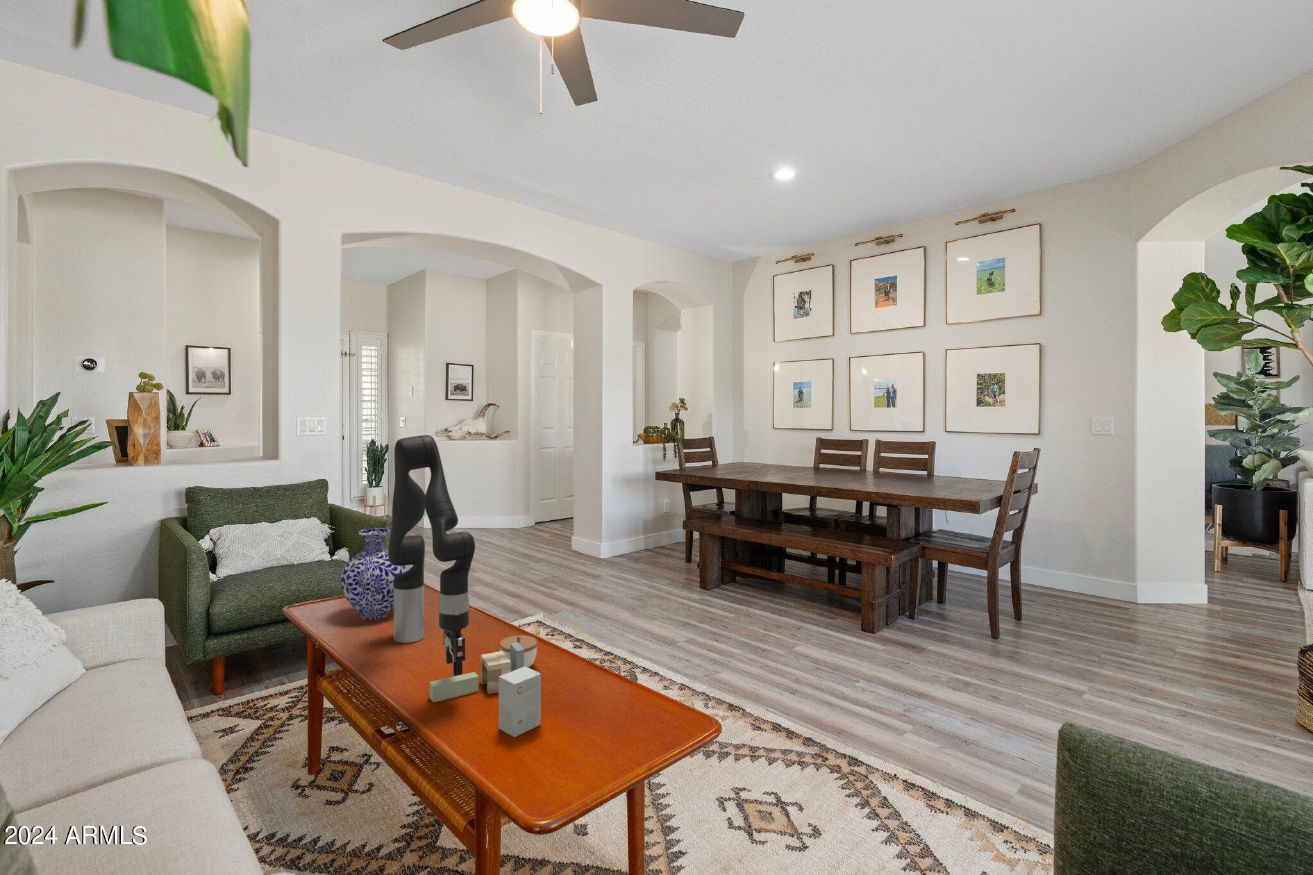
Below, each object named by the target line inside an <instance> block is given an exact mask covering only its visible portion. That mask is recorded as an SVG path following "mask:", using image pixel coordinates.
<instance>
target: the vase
mask: <svg viewBox="0 0 1313 875" xmlns="http://www.w3.org/2000/svg"><path fill="white" fill-rule="evenodd" d="M390 533H391V529H389V528H380V527H378V528H377V527H376V528H373V527H372V528H367V529H366V528H365V529H360V530H359V531H358V535H359V536H360V537H362V538H364V541H365V548H364V549H363V550H362V551H361V552H359V553H357V554H356V555H354V556H353V557H352V558H350V560H348V561H347V563H346V564H345V565H344V567H343V569H342V571H341V577H340V586H341V587H340V588H341V590H342V593H343V595H344V596H345V598H346V600H347V601H348V603H349V605H350V606H352V608H353V609H354V610H355V611H356V612H357V613H358V614H359V615H360V617H361V619H362V620H367V621H371V620H380V619H384V618H386V617H387V616H389V613H390V612H391V610H392V609H393V580H394V578H395V577H396V576H397V575H400V574H402V573H404V572H406V571H408V570H407V567H406V566H407V565H404V566H394V565H392V564H391V563H390V562H389V559H388V549H386V548H385V546H384V539H385V536H388V535H390Z"/></svg>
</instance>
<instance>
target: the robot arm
mask: <svg viewBox="0 0 1313 875" xmlns="http://www.w3.org/2000/svg"><path fill="white" fill-rule="evenodd" d="M434 438H435V437H433V435H430V434H422V435H415V436H408V437H404V438H403V437H402V438H400V439H398V440H397V441H396V442H395V445H394V450H393V451H394V452H393V453H394V458H393V459H394V462H393V463H394V487H393V497H392V506H391V509H392V510H391V528H390V533H389V535H390V536H389V540H388V541H389V542H388V547H387V550H388V559H389V562H390V563H391V564H392V565H394V566H404V565H405V566H411V567H410V568H409V569H408V570H407V571H406V572H404V573H402V574H400V575H397V576H396V577H395V578H394V580H393V608H392V609H393V618H392V619H393V629H392V630H393V632H392V633H393V635H392V636H393V641H394V642H396V643H401V644H409V643H415V642H418V641H421V640H422V639H424V638H425V575H424V574H425V557H426V556H425V553H426V545H425V544H426V543H425V538H424V537H423V536H422V535H417V534H416V535H415V534H414V535H407V534H408V533H409V532H410V531H411V530H412V529H414V528H415V527H416V526H417V525H418V524H419V523H420V521H421V520H422V519H423V517H424V515H425V512H426V516H427V518H428V521H429V523H430V527H431V536H432V537H431V538H432V552H433V556H434V557H435V559H436V560H438V561H439V562H441V563H447V562H454V561H455V562H454V564H453V565H452V566H450V567H448V568H446V569H444V570H442V571H441V573H440V575H439V592H440V593H439V599H438V627H439V628H440V629H441V630H443V641H442V642H443V645H444V649H445V663H446V665H447V664H448V665H449V664H452V665H453V666H452V674H453V677H454V676H459V675H463V662H465V661H466V638H465V637H464V633H462V630H463V629H466V628H467V627H468V626H469V624H470V597H469V574H470V569H471V565H472V562H473V559H474V556H475V551H476V542H475V538H474V537H473V535H472V534H471V533H470V532H468V531H460V532H454V533H447V532H448V531H449V532H450V530H453V529H454V528H455V527H457V525H458V524H459V518H458V514H457V512H456V509H455V506H454V504H453V502H452V500H451V496H450V494H449V493H450V492H449V489H448V486H447V481H446V476H445V473H444V472H445V471H444V468H443V463H442V459H441V455H440V451H439V446H438V445H437V442H436V440H435V439H434ZM425 468H429V470H430V479H429V484H428V487H427V488H426V492H424V490H423V488H422V487H421V486H420V485H419V484H418V483H417V482H416V481H415V480H413V478H412V477H411V475H410V472H411V471H412V470H413V471H415V470H420V469H425ZM458 654H459V655H458Z"/></svg>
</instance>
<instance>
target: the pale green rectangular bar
mask: <svg viewBox="0 0 1313 875" xmlns="http://www.w3.org/2000/svg"><path fill="white" fill-rule="evenodd" d="M479 678H480V677H479V675H478V674H477V673H476V672H475V671H473V672H469V673H465V674H463V673H462V675H458V676H454V675H453V676H451V677H450V676H449V677H447V678H442V679H438V680H433V681H429V699H430V700H431V702H432V703H436V702H441V701H445V700H449V699H452V698H458V697H462V696H465V695H469V694H470V695H471V694H475V693H478V692H479V690H480V689H479V686H480V683H479V682H480V680H479Z"/></svg>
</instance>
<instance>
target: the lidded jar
mask: <svg viewBox="0 0 1313 875" xmlns="http://www.w3.org/2000/svg"><path fill="white" fill-rule="evenodd" d="M516 642H518V644H519V645H520V646H521V647H522V648H523V649H524V667H527V668H530V667H531V666H532V665H533V664H534V661H535V660H536V657H537V651H538V650H537V649H538V639H536V638H535V637H533V636H530V635H513V636H509V637H508V636H507V637H505V638H503V639H502V640H500V642H499V652H500V651H503V653H504V654H505V655H506V656H507V658H508V659H509V660H510V643H516Z"/></svg>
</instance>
